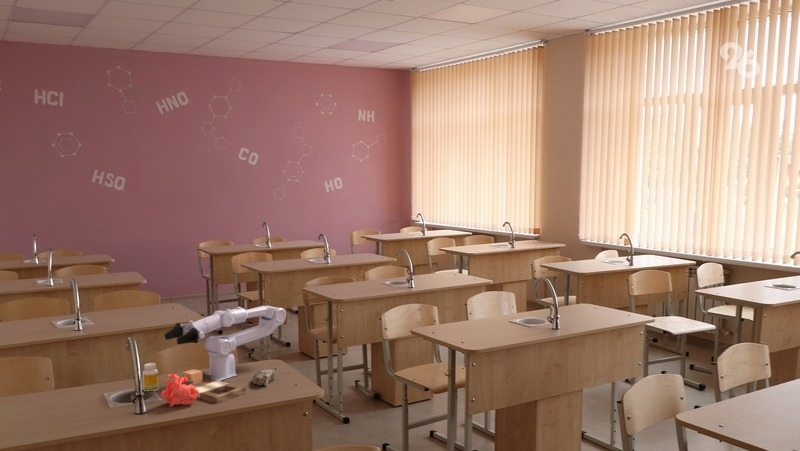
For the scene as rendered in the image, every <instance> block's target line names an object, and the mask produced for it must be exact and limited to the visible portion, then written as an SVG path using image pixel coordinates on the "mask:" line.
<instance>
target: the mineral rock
mask: <svg viewBox="0 0 800 451" xmlns="http://www.w3.org/2000/svg"><path fill="white" fill-rule="evenodd" d="M274 375H275V369H261V370H259V371H257V372H256V373H255V374H254V375H253V376H252V383H253V384H254V385H257V386H264V387H268V386H269V383H271V382H272V381H274V380H275V376H274Z"/></svg>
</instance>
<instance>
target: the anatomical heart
mask: <svg viewBox="0 0 800 451" xmlns="http://www.w3.org/2000/svg"><path fill="white" fill-rule="evenodd" d="M167 376H168V378H166V380H165V388H164V389H163V390H162V391H161V398H162V399H163V400H164V401H166V403H168V404H169V407H174V405H177V406H178V405H179V404H182V405H184V406H186V405H189V406H190V405H191V404H193V403H194V402H195V400H198V398H197V392H198V390H197V389H196V388H195V387H194V386H193V385H192V384H189V385H188V386H187V385H185V384H183V385H181V383H184V381H185V382H188V380H187V378H188V377H185V376H184V377H183V376H182V377H181V379H179V377H180V376H178V374H176V373H173V374H171V373H170V374H167ZM170 378H171V379H172V380H173V381H170ZM169 383H170V384H169ZM171 385H172V386H171ZM190 390H191V392H192V393H191V392H190Z"/></svg>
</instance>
